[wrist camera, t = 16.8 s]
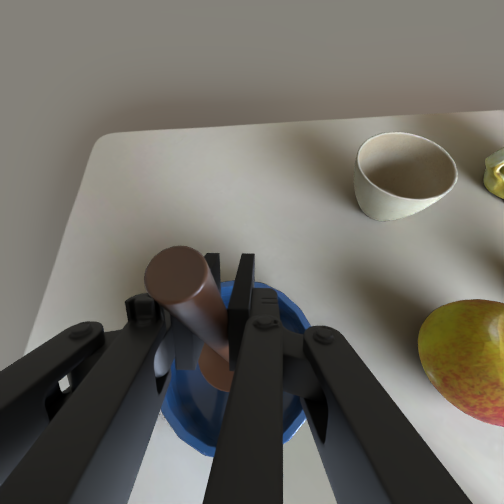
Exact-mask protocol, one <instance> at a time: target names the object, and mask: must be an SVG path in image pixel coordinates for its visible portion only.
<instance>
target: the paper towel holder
mask: <svg viewBox="0 0 504 504" xmlns="http://www.w3.org/2000/svg"><path fill="white" fill-rule="evenodd" d="M144 283H145V288H146V291H147V292H148V294H149V295H150V297H151V298H152V299H153V300H155V301H156V302H157V303H158V304H159V305H161V306H162V307H163V308H164V309H165V310H167V311H168V312H169V313H170V314H171V315H173V316H174V317H175V318H176V319H177V320H179V321H180V322H181V323H182V324H183V325H184V326H186V327H187V328H188V329H189V330H190V331H192V332H193V333H194V334H195V335H196V336H198V337H199V338H200V339H201V340H202V341H204V342H205V343H204V346H203V348H202V351H201V354H200V357H199V360H198V364H199V368H200V370H201V373H202V375H203V376H204V378H205V379H206V380H207V381H208V383H209V384H211V385H212V386H213V387H215V388H217V389H219V390H221V391H225V392H230V388H231V383H232V379H233V375H234V371H229V343H228V324H229V317H228V312H227V309H226V307H225V304H224V302H223V300H222V297H221V295H220V292H219V290H218V288H217V285H216V283H215V281H214V278H213V276H212V273H211V271H210V269H209V266H208V264H207V262H206V260H205V258H204V256H203V255H202V254H201V253H200V252H198V251H197V250H195V249H193V248H190V247H187V246H173V247H170V248H167V249H164V250H163V251H161V252H159V253H158V254H157V255H156V256H154V257H153V259H152V260H151V261H150V262H149V264H148V266H147V268H146V271H145V276H144Z"/></svg>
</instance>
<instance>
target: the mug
mask: <svg viewBox="0 0 504 504" xmlns="http://www.w3.org/2000/svg"><path fill="white" fill-rule="evenodd" d="M485 166H486V170H485V173H484V185H485V187H486V188H487V190H488V191H490V192H491V193H493V194H494V195H496V196H498V197H500V198H503V199H504V147H503V148H501V149H500V150H498V151H496V152H495V153H493V154H492V155H490V156H489V157H488V158H486V159H485Z"/></svg>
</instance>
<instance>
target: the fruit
mask: <svg viewBox="0 0 504 504" xmlns="http://www.w3.org/2000/svg"><path fill="white" fill-rule="evenodd" d="M418 351H419V356H420V361H421V363H422V365H423V368H424V370H425V373H426V375H427V376H428V378H429V380H430V382H431V383H432V384H433V385H434V387H435V388H436V389H437V390H438V391H439V392H440V393H441V394H442V395H443V396H444V397H445V398H446V399H447V400H448V401H449V402H450V403H451V404H453V405H454V406H456V407H457V408H458V409H460V410H461V411H463V412H464V413H466V414H468V415H470V416H472V417H473V418H476V419H478V420H480V421H483V422H485V423H489V424H492V425H497V426H502V427H504V303H500V302H496V301H489V300H481V299H473V300H461V301H456V302H452V303H448V304H446V305H443V306H441V307H439V308H437V309H436V310H434V311H433V312H432V313H431V314H430V315H429V316H428V317H427V318H426V319H425V321H424V323H423V324H422V326H421V328H420V331H419V336H418Z"/></svg>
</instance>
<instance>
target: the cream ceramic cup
mask: <svg viewBox="0 0 504 504" xmlns="http://www.w3.org/2000/svg"><path fill="white" fill-rule="evenodd" d="M457 176H458V175H457V167H456V164H455V162H454V160H453V159H452V157H451V156H450V155H449V153H448V152H447V151H446V150H445V149H443V148H442V147H441V146H440V145H438V144H436V143H435V142H433V141H431V140H429V139H427V138H425V137H422V136H419V135H416V134H411V133H405V132H387V133H381V134H377V135H375V136H372V137H371V138H369V139H367V140H366V141H365V142H364V143H363V144H362V145H361V146H360V148H359V150H358V153H357V157H356V162H355V169H354V188H355V194H356V198H357V201H358V204H359V206H360V208H361V210H362V211H363V212H364V213H365V214H366V215H367V216H368V217H370V218H372V219H374V220H378V221H391V220H397V219H401V218H404V217H407V216H410V215H412V214H415V213H417V212H419V211H421V210H423V209H425V208H427V207H428V206H430V205H432V204H433V203H435V202H436V201H438V200H439V199H440V198H442V197H443V196H444V195H446V194H447V193H448V192H449V191H450V190H451V189H452V188H453V187H454V185H455V184H456V181H457Z"/></svg>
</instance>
